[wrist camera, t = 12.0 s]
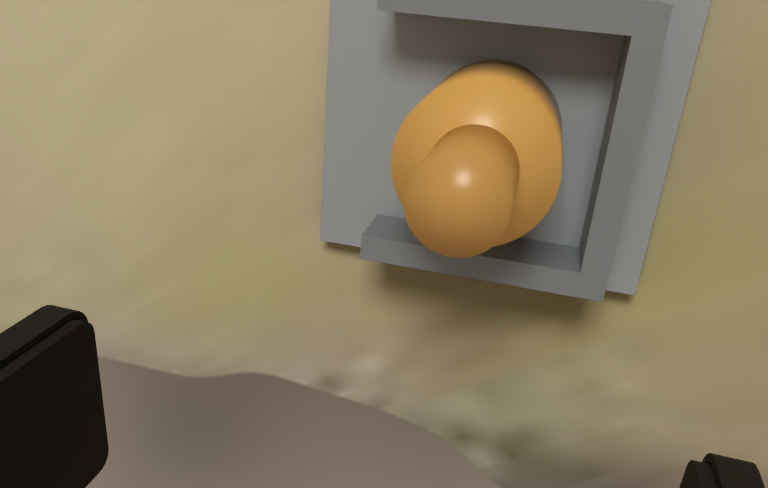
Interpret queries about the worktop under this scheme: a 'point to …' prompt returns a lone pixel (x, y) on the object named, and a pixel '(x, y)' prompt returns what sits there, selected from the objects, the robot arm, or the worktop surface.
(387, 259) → the u rest
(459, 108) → the amber bottle
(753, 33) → the worktop surface
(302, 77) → the worktop surface
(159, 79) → the worktop surface
